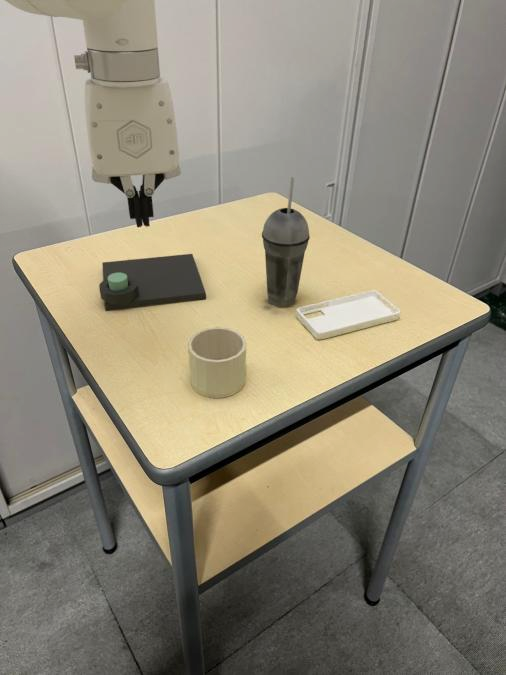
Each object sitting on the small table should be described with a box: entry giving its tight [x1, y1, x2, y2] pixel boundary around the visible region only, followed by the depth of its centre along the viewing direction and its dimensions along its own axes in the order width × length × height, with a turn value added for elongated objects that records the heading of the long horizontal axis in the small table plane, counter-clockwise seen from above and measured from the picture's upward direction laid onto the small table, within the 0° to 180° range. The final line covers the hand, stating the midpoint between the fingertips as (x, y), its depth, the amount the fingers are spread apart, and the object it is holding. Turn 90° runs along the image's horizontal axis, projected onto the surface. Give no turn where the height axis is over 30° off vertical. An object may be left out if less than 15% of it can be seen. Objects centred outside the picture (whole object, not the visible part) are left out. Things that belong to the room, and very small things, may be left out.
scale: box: [98, 253, 207, 312], centre depth 87 cm, size 16×14×3 cm
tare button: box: [108, 273, 128, 291], centre depth 81 cm, size 3×3×2 cm
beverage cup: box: [261, 176, 311, 309], centre depth 79 cm, size 7×7×20 cm
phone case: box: [295, 289, 402, 340], centre depth 81 cm, size 7×1×15 cm
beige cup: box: [187, 326, 247, 399], centre depth 67 cm, size 7×7×6 cm
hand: (142, 222), depth 68 cm, fingers closed
